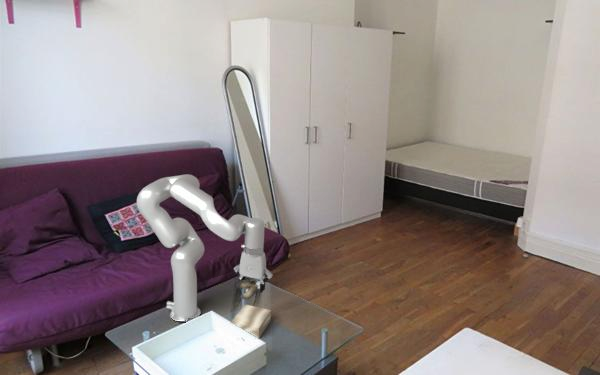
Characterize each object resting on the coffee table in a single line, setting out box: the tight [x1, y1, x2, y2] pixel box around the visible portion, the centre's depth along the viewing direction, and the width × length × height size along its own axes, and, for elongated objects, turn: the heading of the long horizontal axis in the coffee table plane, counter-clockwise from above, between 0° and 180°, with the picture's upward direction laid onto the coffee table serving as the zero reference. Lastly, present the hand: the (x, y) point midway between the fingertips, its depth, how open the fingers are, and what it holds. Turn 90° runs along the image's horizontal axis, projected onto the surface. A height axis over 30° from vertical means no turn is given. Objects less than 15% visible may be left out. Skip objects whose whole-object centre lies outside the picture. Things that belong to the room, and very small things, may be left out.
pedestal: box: [230, 304, 272, 339], centre depth 194 cm, size 12×14×5 cm
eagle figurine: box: [236, 278, 261, 300], centre depth 188 cm, size 8×7×9 cm
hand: (252, 288), depth 189 cm, fingers closed on eagle figurine, 7 cm apart
